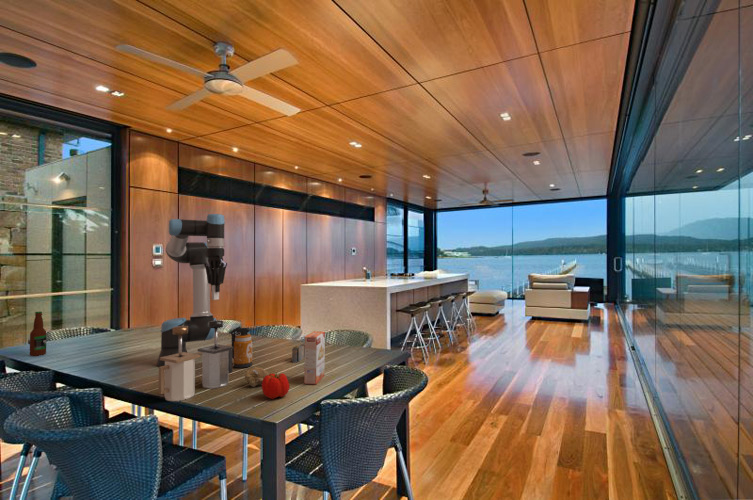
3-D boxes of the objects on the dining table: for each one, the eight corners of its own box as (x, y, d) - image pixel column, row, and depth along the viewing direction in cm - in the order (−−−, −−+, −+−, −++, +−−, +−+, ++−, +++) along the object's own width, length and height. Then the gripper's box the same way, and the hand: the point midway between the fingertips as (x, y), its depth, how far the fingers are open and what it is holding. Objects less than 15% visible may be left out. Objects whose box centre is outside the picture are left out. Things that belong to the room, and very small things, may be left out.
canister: (246, 369, 198) (246, 328, 199) (226, 368, 201) (226, 328, 201) (255, 364, 207) (255, 325, 208) (236, 363, 209) (236, 325, 210)
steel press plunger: (203, 358, 172) (203, 321, 173) (217, 355, 179) (217, 319, 179) (214, 360, 169) (214, 322, 169) (228, 357, 175) (228, 320, 176)
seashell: (258, 378, 182) (258, 361, 182) (275, 379, 180) (275, 362, 181) (242, 388, 169) (242, 369, 169) (260, 389, 167) (260, 370, 167)
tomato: (256, 399, 155) (256, 377, 155) (273, 391, 165) (273, 369, 165) (279, 403, 151) (279, 380, 151) (295, 394, 161) (295, 372, 161)
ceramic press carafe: (151, 401, 154) (151, 359, 154) (183, 390, 166) (183, 352, 166) (168, 405, 149) (168, 362, 149) (199, 394, 161) (200, 354, 161)
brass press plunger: (166, 368, 158) (166, 327, 158) (182, 364, 164) (182, 325, 164) (177, 370, 154) (177, 329, 154) (194, 366, 160) (194, 326, 161)
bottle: (38, 356, 227) (39, 312, 228) (26, 356, 227) (26, 312, 228) (49, 353, 234) (50, 310, 235) (37, 353, 234) (37, 311, 235)
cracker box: (317, 385, 172) (317, 336, 173) (303, 384, 173) (303, 336, 174) (325, 375, 186) (325, 330, 187) (313, 375, 187) (312, 330, 188)
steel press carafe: (197, 386, 172) (197, 349, 172) (223, 378, 183) (223, 343, 184) (213, 390, 166) (213, 351, 167) (239, 381, 178) (239, 345, 179)
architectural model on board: (297, 363, 210) (297, 345, 210) (292, 363, 211) (292, 344, 211) (306, 358, 221) (306, 340, 221) (301, 358, 222) (301, 340, 222)
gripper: (199, 248, 182) (198, 299, 182) (218, 247, 176) (218, 300, 175) (212, 248, 189) (212, 298, 188) (232, 247, 183) (232, 299, 182)
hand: (215, 299), depth 182 cm, fingers closed
